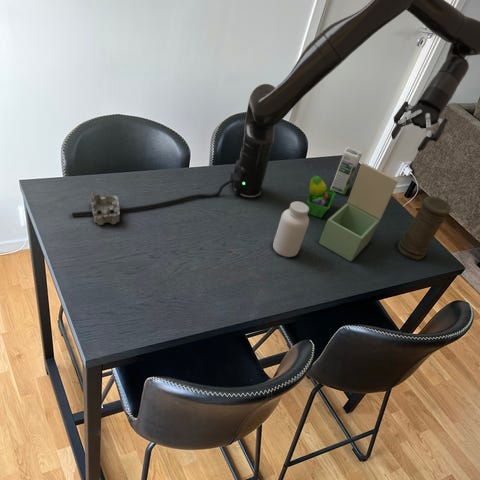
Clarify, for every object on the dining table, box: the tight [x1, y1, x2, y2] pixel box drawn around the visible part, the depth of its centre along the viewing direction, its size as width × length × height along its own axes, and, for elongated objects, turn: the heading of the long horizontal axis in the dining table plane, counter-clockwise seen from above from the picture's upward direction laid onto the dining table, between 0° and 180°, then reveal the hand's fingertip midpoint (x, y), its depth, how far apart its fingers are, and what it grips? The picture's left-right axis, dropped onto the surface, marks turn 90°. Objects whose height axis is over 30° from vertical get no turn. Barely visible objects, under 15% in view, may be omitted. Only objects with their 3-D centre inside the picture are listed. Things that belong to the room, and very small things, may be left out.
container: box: [397, 195, 452, 261], centre depth 143 cm, size 9×9×18 cm
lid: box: [346, 162, 399, 220], centre depth 137 cm, size 14×12×1 cm
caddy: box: [318, 202, 381, 262], centre depth 142 cm, size 14×12×9 cm
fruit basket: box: [306, 175, 336, 219], centre depth 151 cm, size 11×9×11 cm
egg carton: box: [90, 192, 121, 226], centre depth 131 cm, size 11×8×4 cm
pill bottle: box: [272, 200, 310, 258], centre depth 132 cm, size 8×8×15 cm
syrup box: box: [329, 146, 363, 196], centre depth 162 cm, size 6×6×14 cm
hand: (405, 143), depth 135 cm, fingers open, 8 cm apart
